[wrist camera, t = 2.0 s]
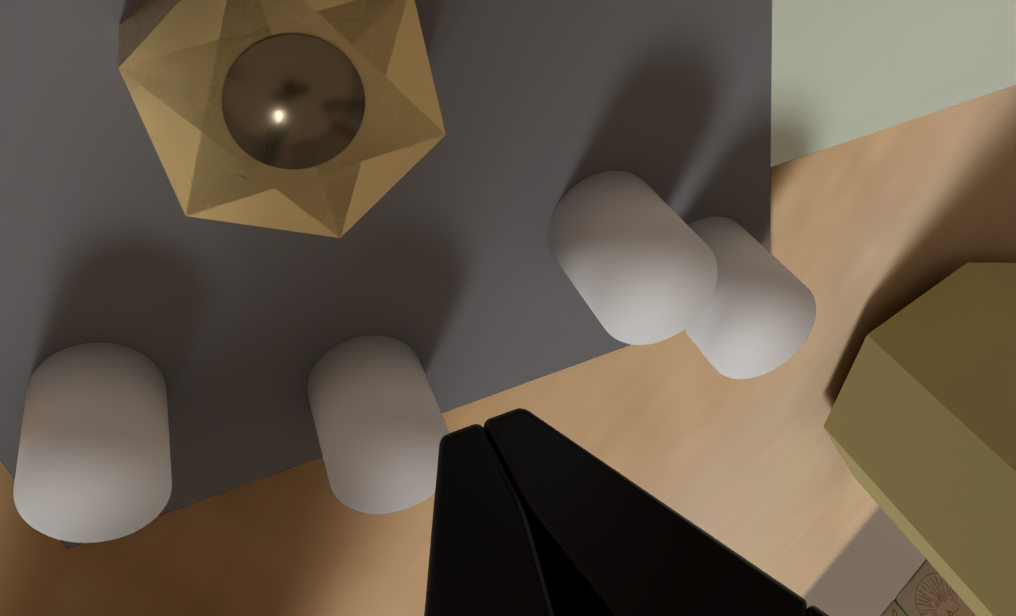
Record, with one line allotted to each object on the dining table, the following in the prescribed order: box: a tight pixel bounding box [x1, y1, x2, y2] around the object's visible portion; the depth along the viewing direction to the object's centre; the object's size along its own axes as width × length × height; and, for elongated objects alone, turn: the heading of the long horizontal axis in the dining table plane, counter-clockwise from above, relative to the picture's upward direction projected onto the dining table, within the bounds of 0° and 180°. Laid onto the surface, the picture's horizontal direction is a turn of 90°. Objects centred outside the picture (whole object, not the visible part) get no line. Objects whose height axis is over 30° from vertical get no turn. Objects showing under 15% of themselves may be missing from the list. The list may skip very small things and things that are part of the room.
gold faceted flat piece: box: [118, 0, 446, 238], centre depth 17 cm, size 6×5×2 cm
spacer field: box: [0, 0, 816, 549], centre depth 17 cm, size 20×19×4 cm
